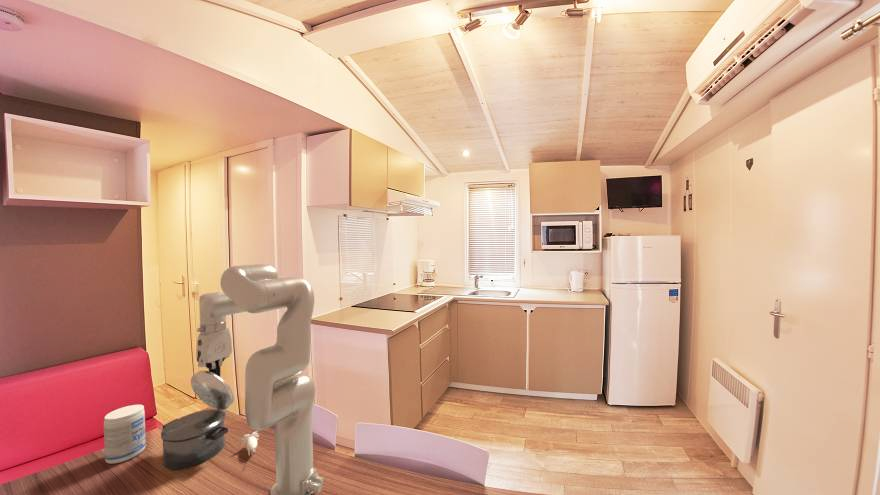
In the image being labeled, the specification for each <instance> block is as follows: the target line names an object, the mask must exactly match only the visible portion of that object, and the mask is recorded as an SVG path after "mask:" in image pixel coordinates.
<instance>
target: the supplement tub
mask: <svg viewBox="0 0 880 495" xmlns="http://www.w3.org/2000/svg"><path fill="white" fill-rule="evenodd" d="M103 418H104V421H103V438H104V439H103V440H104V460H105V462H106V463H107V464H110V465H115V464H118V463H123V462H126V461H128V460H131V459H133V458H135V457H136V456H138V455H139V454H141V453H142V452H143V451H145V448H146V442H147V441H146V419H145V418H146V414H145V406H144V405H143V404H133V405H127V406H123V407H120V408H117V409H115V410H113V411H110V412H108V413H107V414H106V415H105V416H104V417H103Z"/></svg>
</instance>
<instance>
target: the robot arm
mask: <svg viewBox="0 0 880 495" xmlns="http://www.w3.org/2000/svg"><path fill="white" fill-rule="evenodd" d="M219 282H220V283H219V284H220V288H221V290H222V292H219V291H217V292H207V293H203V294H201V295H200V296H199V300H198V304H199V309H198V310H199V327H197V328H196V331H197V333H199V334H198V335H197V339H196V351H195V355H196V356H195V358H196V362H197V368H206V369H208V371H209V372H212V373H214V374H216V375H218V376H219V377H221V367H222V366H223V362H224V361H225V360H226V359H228V358H229V357H230V356H231V355H232V353H233V344H232V343H233V342H232V336H231V332H230V329H229V328H228V327H227V316H231V315H235V314H239V313H245V312H247V313H250V314H260V313H265V312H269V311H274V310H275V311H276V310H279V309H284V308H286V309H287V310H286V311H285V312H284V313H283V315H282V316H281V318H280V320H279V322H278V324H277V329H276V342H275V343H274V345H272V346H268V347H265V348H262V349H259V350H257V351H255V352H254V353H253V354H251V355H250V357H249V358H248V360H247V362H246V366H245V372H244V374H245V375H244V413H245V419H246V420H245V421H246V422H247V425H248V426H249V428H250V429H251V430H253V431H254V432H256V431H258V432H259V431H264V430H268V429H269V428H271V427H273V426H274V425H276V427H275V431H274V442H275V443H274V444H275V448H274V449H275V483H274V484H273V485H272V486H271V489H270V492H269V495H311V494H312V495H313V494H314V493H317V494H318V493H321V491H323V483H324V480H325V477H322V476H320V475H319V473H318V471H317V468H316V467H314V445H313V442H314V440H313V439H314V438H313V411H314V403H315V398H316V385H315V382H314V380H313V379H312V377H311V376H308V375H305V374H300V373H302V372H304V371H306V369H307V368H308V367H309V364H310V361H311V333H312V332H311V330H312V329H311V323H312V318H313V314H314V313H313V312H314V308H315V293H314V290H313V287H312V285H311V284H310V282H309V281H308V280H306V279H304V278H302V277H294V276H293V277H291V276H289V277H279V273H278V271H277V269H276V268H275V267H273V266H272V265H269V264H264V263H263V264H261V263H259V264H246V265H243V264H242V265H233V266H230V267H228V268H227V269H225V270H224V271H223V273H222V274H221V278H220V281H219Z"/></svg>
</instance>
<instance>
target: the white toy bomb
mask: <svg viewBox="0 0 880 495" xmlns="http://www.w3.org/2000/svg"><path fill="white" fill-rule="evenodd" d="M243 436H244V437H242V438H241V440H243V441H241V443H242V444H241V445H242V446H243V445H245V444H246V447H247V448H246V449H247V450H246V451H248V452H247V453H248V456H251V453H250V452H251V451H252V452H254V454H256V453H257V451H256V450H257V446H258V441H259V440H260V439H259V437H260V433H259V431H253V432H252V433H250V434H249V433H248V434H243Z"/></svg>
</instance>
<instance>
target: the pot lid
mask: <svg viewBox="0 0 880 495" xmlns="http://www.w3.org/2000/svg"><path fill="white" fill-rule="evenodd" d="M190 386H191V389H192V390H193V392H194V394H195V395H196V396H197V397H198V399H199V400H201V401H202V403H204V404H206V405H207V406H208V407H210V408H212V409H218V410H228V408H230V407H231V406H232V405H233V403H234V401H235V396H234V392H233V390H232V389H231V387H230V385H229V384H228V383H227V382H226V381H225V380H224V379H223V378H222V377H221V376H220V377H219V376H218V375H216V374H214V373H212V372H209V370H199V371H197V372H195V373H194V374H193V375H192V376H191V378H190Z"/></svg>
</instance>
